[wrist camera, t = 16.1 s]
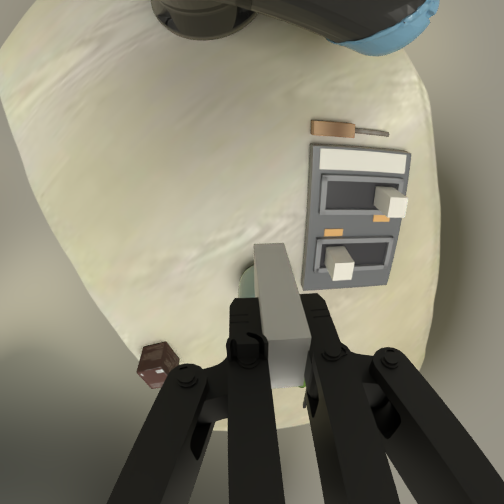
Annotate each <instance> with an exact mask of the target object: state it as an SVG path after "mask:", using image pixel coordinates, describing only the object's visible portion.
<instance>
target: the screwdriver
mask: <svg viewBox="0 0 504 504" xmlns="http://www.w3.org/2000/svg"><path fill="white" fill-rule="evenodd" d="M355 133H360V134H369V135H378V136H386V137H389V132H382V131H374V130H366V129H356V128H355V124H351V123H342V122H330V121H315V120H311V134H312V135H319V136H335V137H348V138H354V136H355Z"/></svg>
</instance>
